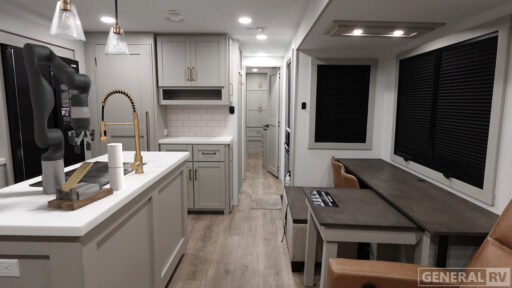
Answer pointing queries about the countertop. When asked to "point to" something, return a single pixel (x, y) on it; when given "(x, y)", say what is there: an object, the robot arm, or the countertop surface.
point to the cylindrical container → (115, 166)
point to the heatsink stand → (79, 196)
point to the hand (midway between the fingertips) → (83, 151)
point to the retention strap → (76, 176)
